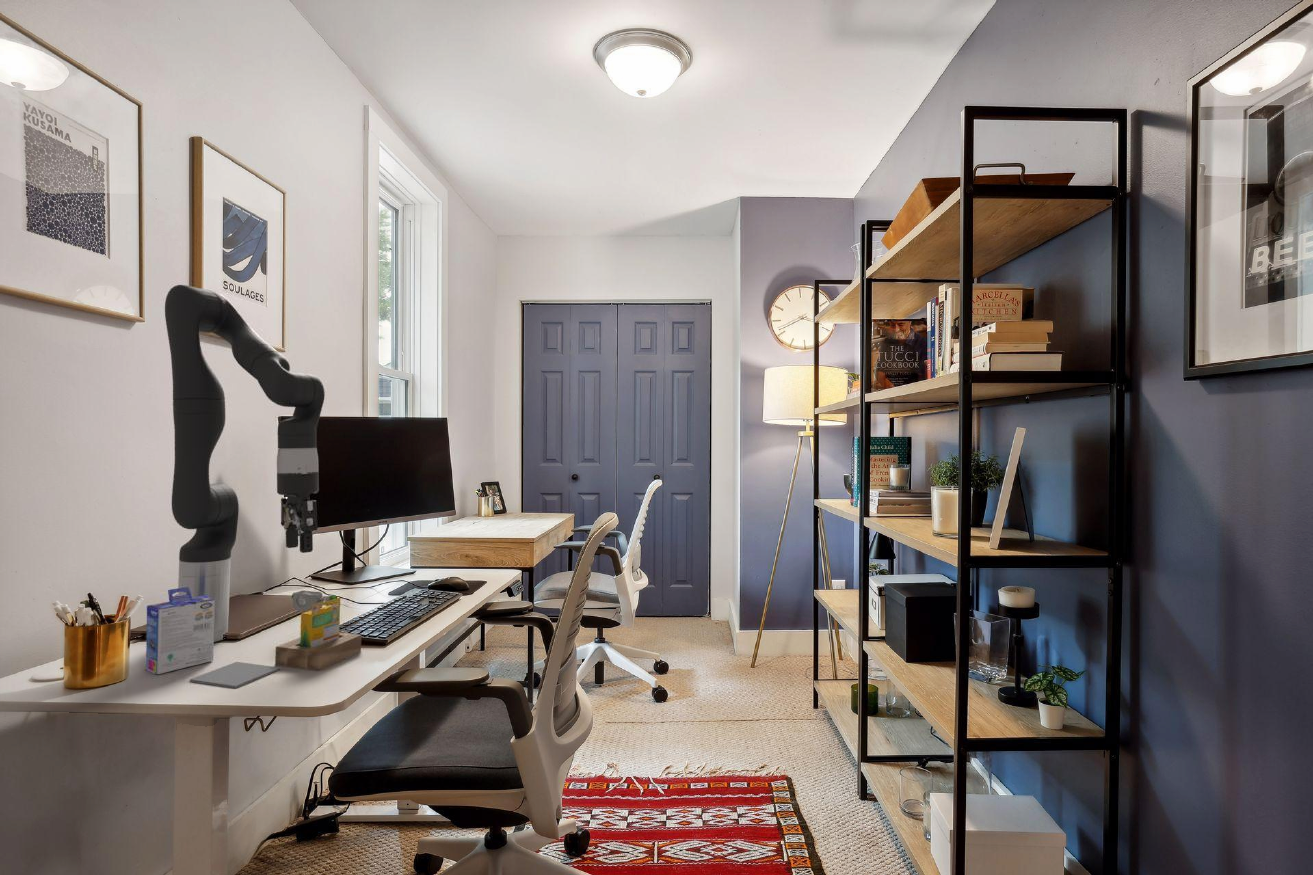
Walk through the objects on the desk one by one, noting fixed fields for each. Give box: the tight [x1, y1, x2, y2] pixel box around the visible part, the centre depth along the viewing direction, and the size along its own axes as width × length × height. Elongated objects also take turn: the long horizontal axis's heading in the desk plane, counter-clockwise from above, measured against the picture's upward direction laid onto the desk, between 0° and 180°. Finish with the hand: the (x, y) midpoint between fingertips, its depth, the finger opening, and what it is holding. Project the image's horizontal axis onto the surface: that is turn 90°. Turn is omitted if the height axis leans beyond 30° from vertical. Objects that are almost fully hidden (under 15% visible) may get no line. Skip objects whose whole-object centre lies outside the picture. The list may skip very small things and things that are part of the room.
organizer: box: [274, 631, 362, 671], centre depth 134 cm, size 10×12×4 cm
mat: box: [189, 661, 281, 689], centre depth 123 cm, size 10×10×1 cm
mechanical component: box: [291, 590, 338, 612], centre depth 146 cm, size 3×10×10 cm, turn 79°
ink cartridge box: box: [145, 587, 215, 675], centre depth 127 cm, size 10×6×14 cm, turn 149°
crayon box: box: [299, 597, 341, 648], centre depth 134 cm, size 7×3×12 cm, turn 160°
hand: (299, 549), depth 136 cm, fingers open, 8 cm apart
